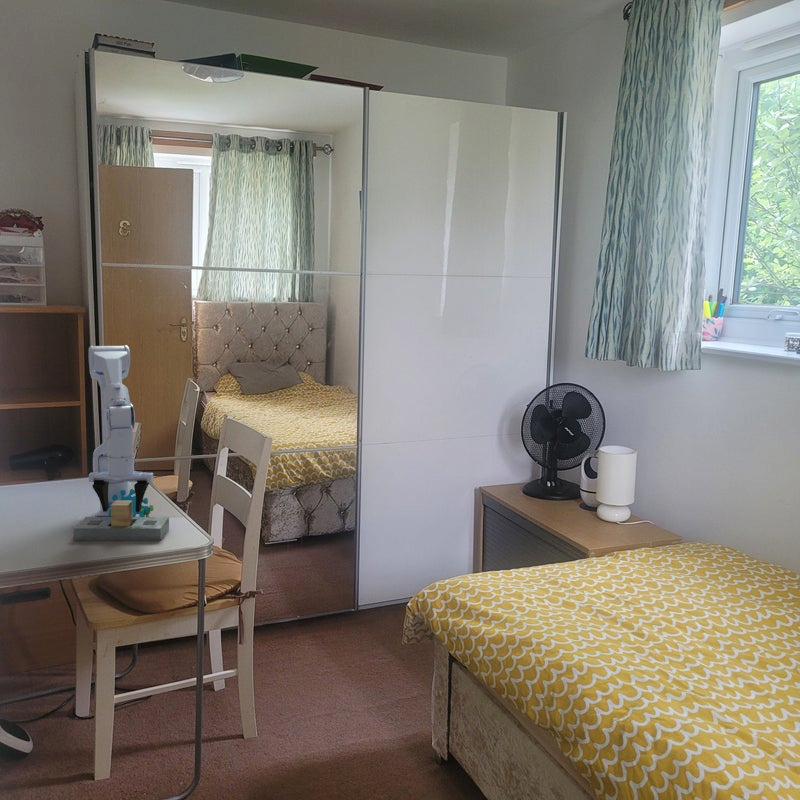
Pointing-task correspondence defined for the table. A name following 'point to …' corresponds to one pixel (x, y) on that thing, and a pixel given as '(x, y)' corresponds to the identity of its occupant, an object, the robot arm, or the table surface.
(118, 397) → the robot arm
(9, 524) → the table surface
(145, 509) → the gear
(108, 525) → the grey holed base
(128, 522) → the peg
